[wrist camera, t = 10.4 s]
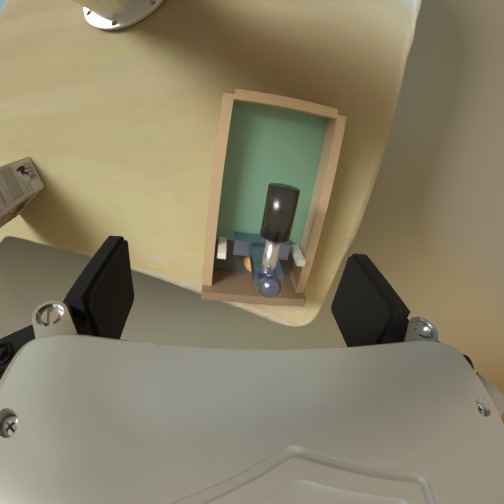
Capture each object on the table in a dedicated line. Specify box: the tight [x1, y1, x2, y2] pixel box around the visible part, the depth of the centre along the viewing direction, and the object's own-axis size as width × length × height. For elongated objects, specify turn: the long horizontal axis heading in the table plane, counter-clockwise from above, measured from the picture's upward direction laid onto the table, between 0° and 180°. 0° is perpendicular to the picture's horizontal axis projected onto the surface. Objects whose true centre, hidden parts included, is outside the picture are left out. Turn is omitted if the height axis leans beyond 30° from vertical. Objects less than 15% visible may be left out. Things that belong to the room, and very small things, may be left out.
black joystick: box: [233, 183, 300, 298], centre depth 29 cm, size 12×7×12 cm, turn 171°
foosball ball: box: [244, 256, 252, 273], centre depth 37 cm, size 4×4×4 cm
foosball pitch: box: [201, 89, 347, 306], centre depth 33 cm, size 26×14×6 cm, turn 171°
